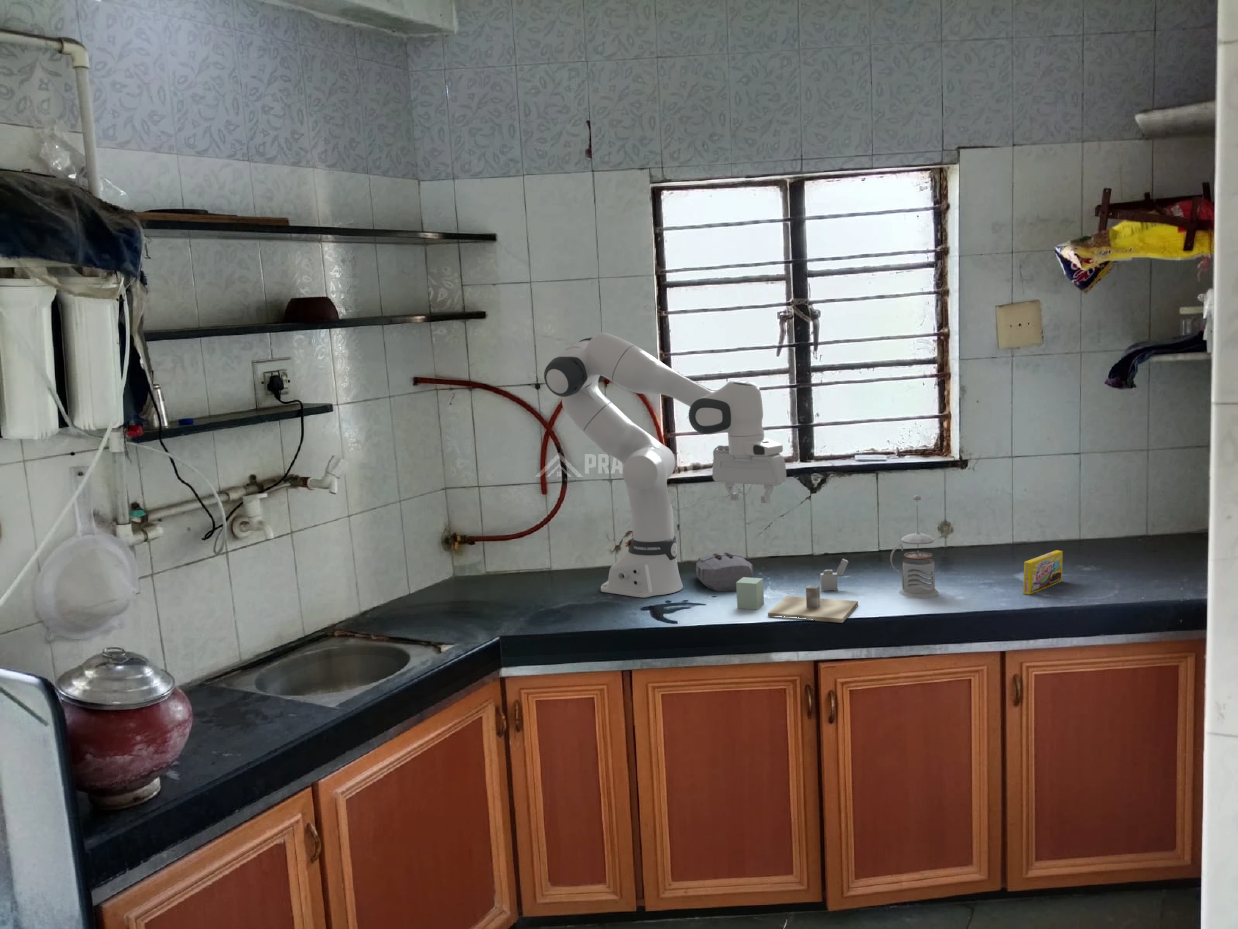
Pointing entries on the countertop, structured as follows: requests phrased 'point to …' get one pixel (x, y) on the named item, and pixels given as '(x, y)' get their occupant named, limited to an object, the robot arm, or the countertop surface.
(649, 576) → the robot arm
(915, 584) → the french press
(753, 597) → the pale sage rectangular block
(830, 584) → the lighter
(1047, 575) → the candy box
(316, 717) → the countertop surface
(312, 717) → the countertop surface
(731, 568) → the grey rounded bag
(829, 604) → the post stand
